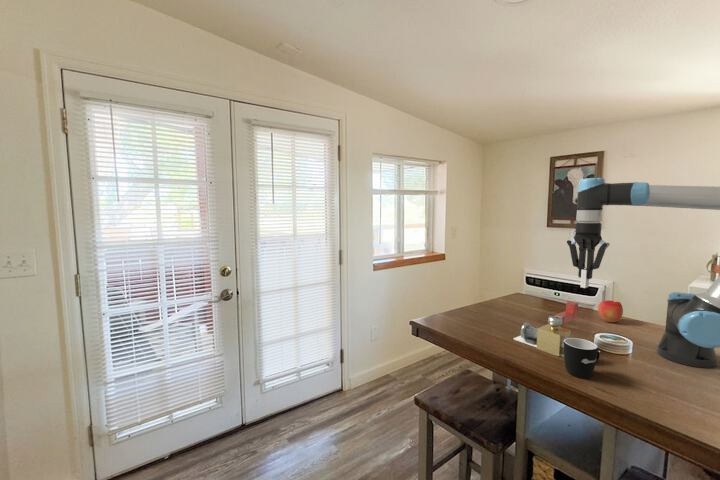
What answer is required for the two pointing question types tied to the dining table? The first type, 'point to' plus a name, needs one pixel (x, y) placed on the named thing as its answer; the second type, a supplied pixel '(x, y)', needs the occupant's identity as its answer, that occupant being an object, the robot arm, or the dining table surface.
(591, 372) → the mug
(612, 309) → the apple
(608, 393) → the dining table surface
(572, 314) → the lever
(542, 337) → the valve
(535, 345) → the board
